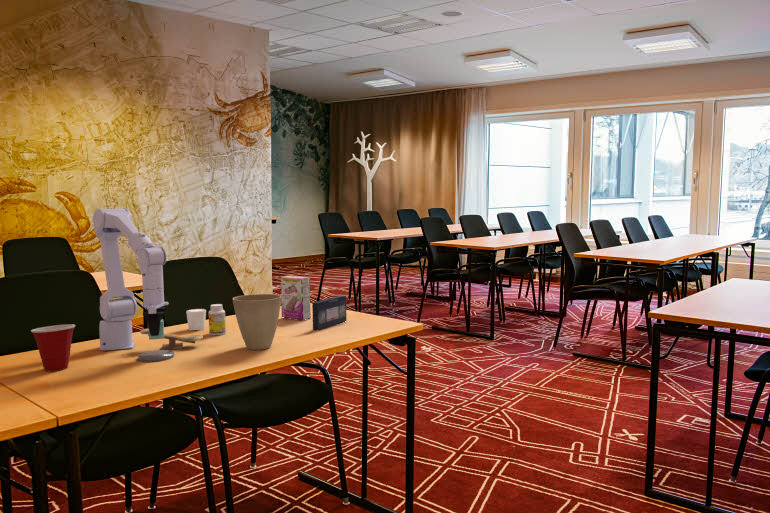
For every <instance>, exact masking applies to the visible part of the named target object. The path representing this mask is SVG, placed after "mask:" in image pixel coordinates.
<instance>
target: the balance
mask: <svg viewBox="0 0 770 513" xmlns="http://www.w3.org/2000/svg"><path fill="white" fill-rule="evenodd" d="M139 333H140V334H141V335H147V336H148V337H149V328H144V329H141V330H140V332H139ZM164 339H166V340H168V343H163V344H162V346H161V350H170V351H173V350H182V349H183V346H184V344H183V342H184V343H190V344H196V341H200V340H201V341H202V340H203V339H204V335H202V334H190V335H189V334H188V335H185V336H175V335H171V334H165V333H164ZM176 341H178V342H176Z"/></svg>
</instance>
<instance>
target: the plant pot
mask: <svg viewBox="0 0 770 513" xmlns="http://www.w3.org/2000/svg"><path fill="white" fill-rule="evenodd" d="M232 304H233V308H234V313H235V318H236V322H237V324H238V325H237V326H238V329H239V332H240V334H241V337H242V340H243V342H244V344H245V347H246V349H248V350H253V351H257V350H258V351H259V350H266V349H269V348H271V347H272V344H273V341H274V338H275V334H276V331H277V327H278V322H279V317H280V312H281V294H276V293H275V294H274V293H273V294H272V293H257V294H255V293H254V294H246V295H245V294H244V295H238V296H234V297H232Z"/></svg>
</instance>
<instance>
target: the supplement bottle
mask: <svg viewBox="0 0 770 513" xmlns="http://www.w3.org/2000/svg"><path fill="white" fill-rule="evenodd" d="M208 329H209V330H208V332H209V335H210V336H222V335H225V334H226V332H227V327H226V311H225V310H224V308H223V304H221V303H216V304H215V303H214V304H210V310H209V311H208Z"/></svg>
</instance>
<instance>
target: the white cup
mask: <svg viewBox="0 0 770 513" xmlns="http://www.w3.org/2000/svg"><path fill="white" fill-rule="evenodd" d="M185 313H186V320H187V325H188V326H187V327H188V331H190V330H200V331H204V330H205V329H206V317H207V310H206V309H205V308H194V309H193V308H192V309H189V310H188V309H187V310H186V312H185ZM203 329H204V330H203Z"/></svg>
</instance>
